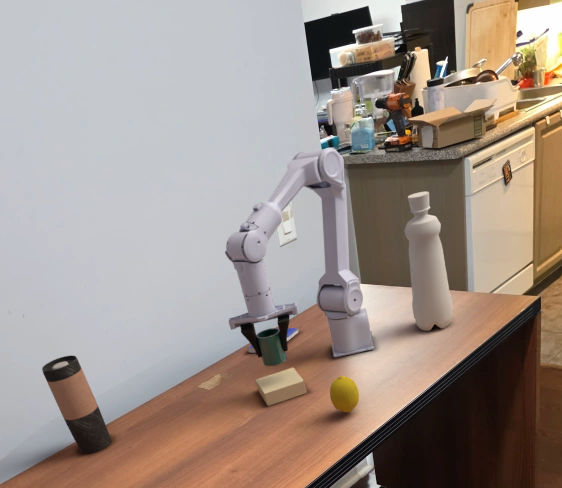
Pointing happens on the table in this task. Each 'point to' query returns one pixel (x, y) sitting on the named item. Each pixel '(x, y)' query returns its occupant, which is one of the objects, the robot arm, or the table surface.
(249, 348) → the blue book
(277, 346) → the cup
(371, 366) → the table surface
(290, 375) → the block
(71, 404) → the travel mug
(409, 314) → the table surface
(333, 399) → the lemon
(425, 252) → the bottle
